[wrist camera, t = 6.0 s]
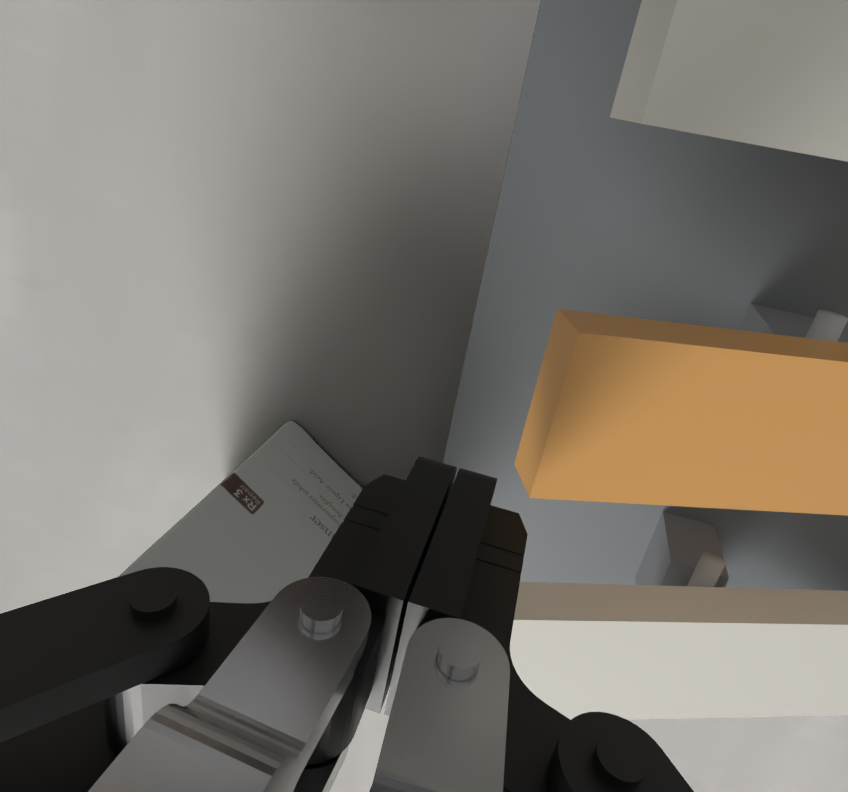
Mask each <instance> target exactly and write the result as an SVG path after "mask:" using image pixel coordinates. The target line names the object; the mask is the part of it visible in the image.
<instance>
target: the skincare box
mask: <svg viewBox="0 0 848 792" xmlns="http://www.w3.org/2000/svg"><path fill="white" fill-rule="evenodd" d="M361 491H362V488H361V487H360V486H359V485H358V484H357V483H356V482H355V481H354V480H353V479H352V478H351V477H350V476H349V475H348V474H347V473H346V472H345V471H343V470H342V469H341V468H340V467H339V466H338V465H337V464H336V463H335V462H334V461H333V460H332V459H331V458H330V457H329V456H328V455H327V454H326V453H325V452H324V451H323V450H322V449H321V448H320V447H319V446H318V445H317V444H316V443H315V442H314V440H313V439H312V438H311V437H310V436H309V435H308V434H307V433H306V432H305V431H304V430H303V429H302V428H301V427H300V426H299V425H298V424H296V423H295V422H292V421H288V422H286V423H285V424H284V425H283V426H282V427H281V428H280V429H279V430H278V431H277V432H275V433H274V434H273V435H272V436H271V437H270V438H269V439H268V440H267V441H266V442H265V443H264V444H263V445H262V446H260V447H259V448H258V449H257V450H256V451H255V452H254V453H253V454H252V455H251V456H250V457H249V458H247V459H246V460H245V461H244V462H243V463H242V464H241V465H240V466H239V467H238V468H236V469H235V470H234V471H233V472H232V473H231V474H230V475H229V476H228V477H226V478H225V479H224V480H223V481H222V482H221V483H220V484H219V485H218V486H217V487H216V488H215V489H213V490H212V491H211V492H210V493H209V494H208V495H207V496H206V497H205V498H204V499H203V500H202V501H200V502H199V503H198V504H197V505H196V506H195V507H194V508H193V509H192V510H190V511H189V512H188V513H187V514H186V515H185V516H184V517H183V518H182V519H181V520H180V521H178V522H177V523H176V524H175V525H174V526H173V527H172V528H171V529H170V530H169V531H167V532H166V533H165V534H164V535H163V536H162V537H161V538H160V539H158V540H157V541H156V542H155V543H154V544H153V545H152V546H151V547H150V548H149V549H147V550H146V551H145V552H144V553H143V554H142V555H141V556H140V557H139V558H138V559H137V560H136V561H135V562H133V563H132V564H131V565H130V566H129V567H128V568H127V569H126V570H125V571H124V572H123V573H122V574H121V575H120V576H123V575H127V574H130V573H133V572H136V571H140V570H144V569H148V568H155V567H171V568H178V569H182V570H185V571H188V572H190V573H192V574H194V575H196V576H197V577H198V578H200V579H201V580H202V581H203V583H204V584H205V585H206V587H207V589H208V592H209V597H210V602H226V603H263V602H268V601H272V600H273V598H274V597H275V596H276V595H277V594H278V593H279V592H280V591H281V590H282V589H283V588H284V587H286V586H287V585H289V584H291V583H293V582H295V581H298V580H300V579H304V578H308V577H309V575H310V574H311V572H312V570H313V569H314V567H315V565H316V564H317V562H318V561H319V559H320V557H321V556H322V554H323V552H324V551H325V549H326V548H327V546H328V544H329V543H330V541H331V539H332V538H333V536H334V535H335V533H336V531H337V530H338V528H339V527H340V525H341V523H342V522H344V519H345V517H346V515H347V514H348V512H349V510H350V509H351V507H353V504H354V502H355V501H356V499H357V497H358V496H359V494H360V492H361ZM120 576H118V577H120Z"/></svg>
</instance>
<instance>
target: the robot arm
mask: <svg viewBox="0 0 848 792" xmlns="http://www.w3.org/2000/svg"><path fill="white" fill-rule="evenodd" d="M456 471H457V467H455V466H451V465H448V464H444V463H441V462H437V461H434V460H430V459H427V458H423V457H418V459H417V460H416V462H415V464H414V466H413V468H412V470H411V472H410V474H409V476H408V478H407V480H402V479H399V478H395V477H392V476H388V475H385V474H384V475H382V476H381V477H379V478H377V479H376V480H374V481H372V482H371V483H369V484H367V485H366V486H364V488H363V489H362V491H361V492H360V494H359V496H358V497H357V499H356V501H355V502H354V504H353V507H351V509H350V510H349V512H348V514H347V515H346V517H345V519H344V522H342V523H341V525H340V527H339V528H338V530H337V531H336V533H335V535H334V536H333V538H332V539H331V541H330V543H329V544H328V546H327V548H326V549H325V551H324V552H323V554H322V556H321V557H320V559H319V561H318V562H317V564H316V565H315V567H314V569H313V570H312V572H311V574H310V575H309V577H308V578H304V579H300V580H298V581H295V582H293V583H291V584H289V585H287V586H286V587H284V588H283V589H282V590H281V591H280V592H279V593H278V594H277V595H276V596H275V597H274V598H273V600H272V601H268V602H263V603H226V602H210V597H209V592H208V589H207V587H206V585H205V584H204V583H203V581H202V580H201V579H200V578H198V577H197V576H196V575H194V574H192V573H190V572H188V571H185V570H182V569H178V568H171V567H155V568H148V569H144V570H140V571H136V572H133V573H130V574H127V575H123V576H120V577H117V578H114V579H111V580H107V581H104V582H101V583H98V584H95V585H91V586H88V587H85V588H82V589H79V590H75V591H72V592H69V593H66V594H62V595H59V596H56V597H53V598H50V599H46V600H43V601H40V602H37V603H34V604H30V605H27V606H24V607H21V608H18V609H14V610H11V611H8V612H5V613H2V614H0V792H329V791H330V789H331V787H332V785H333V783H334V781H335V779H336V777H337V775H338V772H339V770H340V768H341V766H342V764H343V762H344V760H345V757H346V755H347V752H348V746H349V744H350V742H351V741H352V739H353V737H354V734H355V732H356V729H357V727H358V724H359V722H360V719H361V716H362V714H363V711H364V709H365V708H366V709H369V710H372V711H375V712H378V713H380V712H381V709H382V706H383V703H384V700H385V698H386V695H387V692H388V689H389V686H390V690H389V694H388V699H387V704H386V708H385V713H384V715H387V716H389V720H388V724H387V728H386V732H385V736H384V740H383V744H382V748H381V752H380V756H379V760H378V764H377V768H376V772H375V776H374V780H373V784H372V786H371V789H370V792H694V791H693V790H692V789H691V787H690V786H689V785H688V784H687V782H686V781H685V780H684V778H683V777H682V776H681V774H680V773H679V772H678V770H677V769H676V768H675V766H674V765H673V764H672V762H671V761H670V760H669V758H668V757H667V756H666V754H665V753H664V752H663V750H662V749H661V748H660V747H659V745H658V744H657V743H656V742H655V741H654V740H653V739H652V738H651V737H650V736H649V735H648V734H647V733H646V732H645V731H643V730H642V729H641V728H639V727H638V726H637V725H635V724H633V723H632V722H630V721H628V720H626V719H624V718H622V717H619V716H617V715H613V714H610V713H605V712H587V713H583V714H580V715H578V716H576V717H574V718H573V719H571V720H570V719H569V718H567V717H566V716H564V715H563V714H561V713H559V712H558V711H556V710H555V709H553V708H552V707H550V706H549V705H547V704H546V703H545V702H543V701H542V700H541V699H539V698H538V697H537V696H536V695H534V694H533V693H532V692H531V691H530V690H529V689H528V688H527V686H526V685H525V684H524V683H523V682H522V680H521V679H520V677H519V675H518V674H517V672H516V670H515V668H514V666H513V663H512V659H511V655H510V640H511V634H512V627H513V621H514V615H515V609H516V603H517V597H518V591H519V584H520V578H521V572H522V566H523V560H524V559H523V558H524V554H525V548H526V541H527V535H528V534H527V532H526V529H525V527H524V524H523V522H522V519H521V517H520V515H519V513H516V512H513V511H509V510H506V509H502V508H499V507H496V506H492V505H491V501H492V498H493V494H494V490H495V487H496V483H497V479H498V478H494V477H491V476H487V475H484V474H480V473H476V472H473V471H469V470H466V469H462V468H459V471H458V473H457V476H456ZM455 476H456V478H455ZM454 480H455V481H454ZM390 684H391V685H390Z"/></svg>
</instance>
